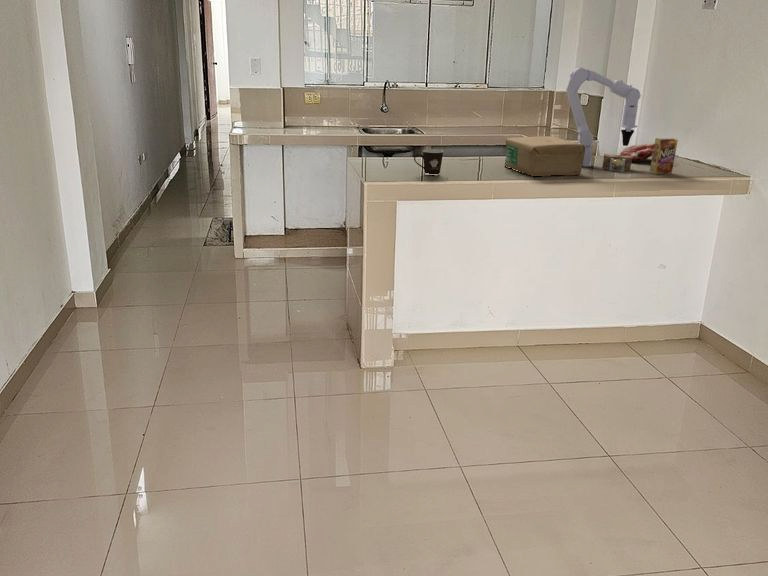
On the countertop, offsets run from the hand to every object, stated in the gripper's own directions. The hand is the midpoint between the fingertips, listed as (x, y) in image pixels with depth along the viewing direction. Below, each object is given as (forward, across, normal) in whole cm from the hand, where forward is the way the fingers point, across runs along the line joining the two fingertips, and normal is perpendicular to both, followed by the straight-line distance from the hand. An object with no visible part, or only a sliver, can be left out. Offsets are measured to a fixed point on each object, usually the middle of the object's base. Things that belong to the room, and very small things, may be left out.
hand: (625, 145), depth 310 cm
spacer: (+10, -11, +3) cm, 15 cm away
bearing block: (+10, -7, +3) cm, 12 cm away
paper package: (+10, -25, +36) cm, 45 cm away
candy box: (+10, -10, -16) cm, 21 cm away
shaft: (+10, -9, +3) cm, 14 cm away
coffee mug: (+10, -52, +81) cm, 97 cm away
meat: (+10, +22, -10) cm, 26 cm away
